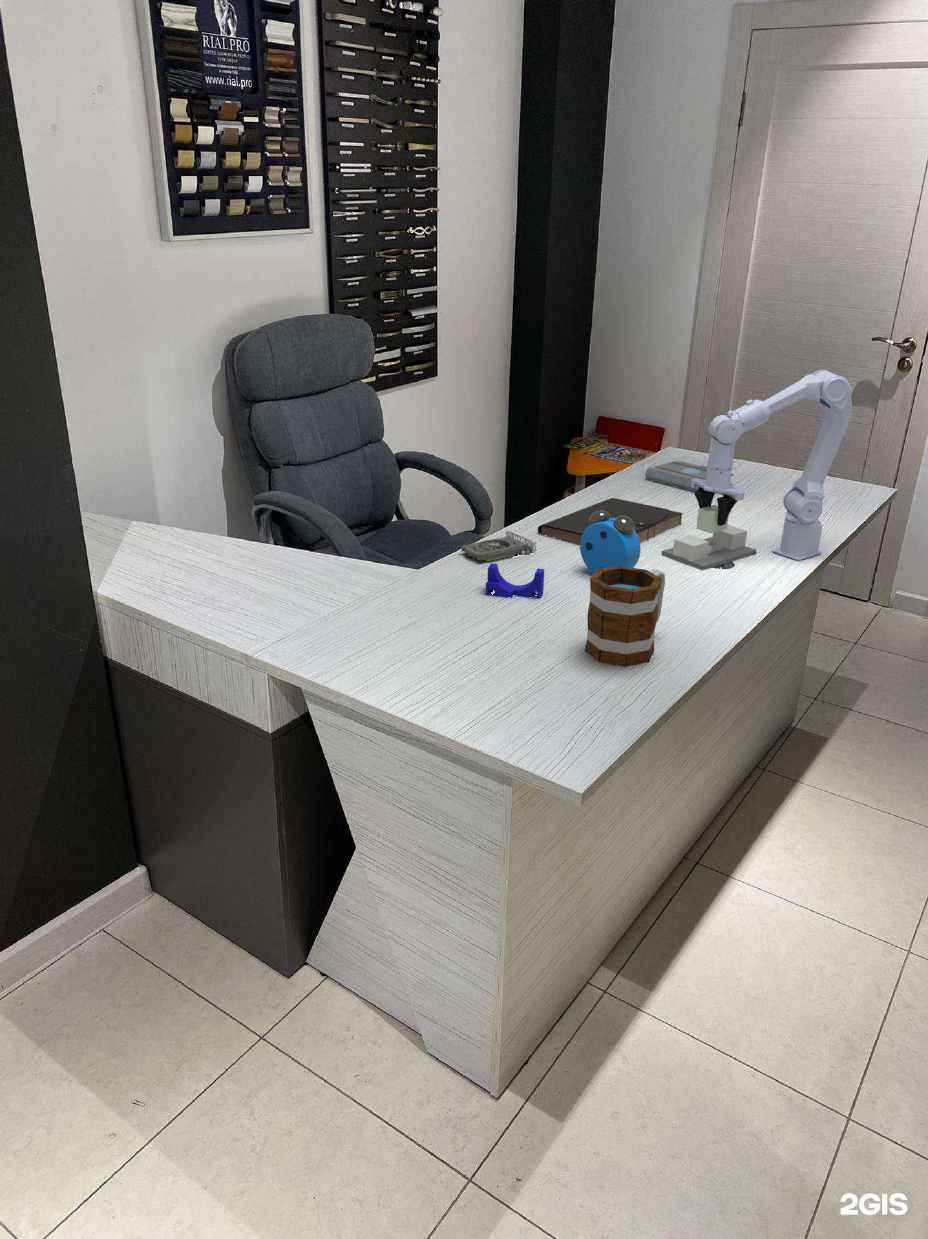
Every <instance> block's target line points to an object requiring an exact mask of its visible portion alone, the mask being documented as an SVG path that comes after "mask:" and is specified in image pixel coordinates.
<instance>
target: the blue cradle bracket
mask: <svg viewBox="0 0 928 1239" xmlns="http://www.w3.org/2000/svg"><path fill="white" fill-rule="evenodd" d="M544 584H545V568H537V569H536V571H535V572H534V577H533V579H532V580H531V581H530V582H528V583H526V584H522V585H519V584H518V585H517V584H512V583H510V582H508V580H506V579H505V578H504V577H503V576H502V574H501V573H500V570H499V564H498V563H490V564H489V566H487V581H486V583H485V596H490V595H492V594H491V592H493V590H494V591H495V593H494V594H493V595H495V596H494V597H499V596H500V598H507V597H511V598H510V599H513V598H512V597H514V596H513V595H517V596H516V597H521V596H522V597H523V598H529V597H532V598H531V599H538V598H540V600H541V599H542V597H543V595H544V587H545V585H544ZM536 593H538V594H536ZM535 595H537V596H535ZM534 597H535V598H534Z"/></svg>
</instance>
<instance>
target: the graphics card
mask: <svg viewBox="0 0 928 1239" xmlns="http://www.w3.org/2000/svg"><path fill="white" fill-rule="evenodd" d="M461 552H463V553H465V554H467V555H468V556H469V557H472V558H476V559H479V560H483V559H485V560H487V561H490V562H492V561H491V560H494V561H496V560H495V559H499V560H502V559H501V558H504V557H508V558H511V557H510V556H515V555H516V554H517V553H518V554H519V555H529V556H531V555H530V553H534V554H536V552H537V541H532V540H530V539H528V538H526V537H525V536H521V535H519V534H517V533H515V532H512V531H510V530H507V531H505V536H503V537H497V538H493V539H487V540H483V541H478V542H473V543H468V544H465V545H464V544H463V545H461ZM504 559H505V558H504ZM485 560H484V561H485ZM487 561H486V562H487Z"/></svg>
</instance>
